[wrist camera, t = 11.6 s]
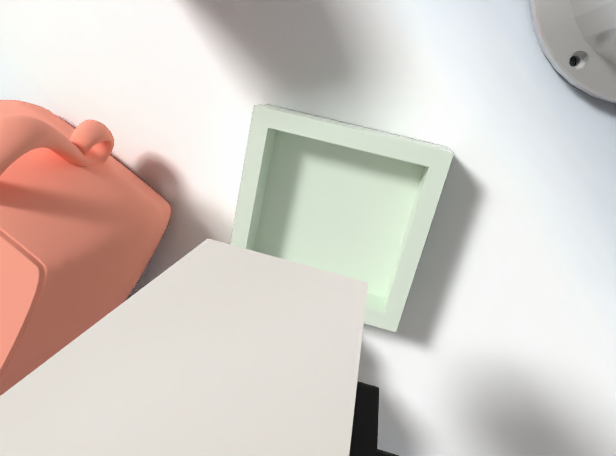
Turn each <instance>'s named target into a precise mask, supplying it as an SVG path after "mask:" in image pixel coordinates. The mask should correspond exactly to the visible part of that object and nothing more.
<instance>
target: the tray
mask: <svg viewBox="0 0 616 456" xmlns="http://www.w3.org/2000/svg"><path fill="white" fill-rule="evenodd" d="M453 155H454V152H452V151H451V150H450V149H449V148H448V147H445V146H441V145H437V144H433V143H428V142H424V141H420V140H416V139H412V138H407V137H403V136H399V135H395V134H391V133H386V132H382V131H378V130H374V129H369V128H365V127H361V126H357V125H353V124H348V123H344V122H340V121H336V120H332V119H327V118H323V117H319V116H315V115H311V114H306V113H302V112H298V111H294V110H290V109H285V108H281V107H277V106H273V105H269V104H268V105H254V107H253V113H252V119H251V125H250V131H249V137H248V142H247V148H246V154H245V160H244V166H243V172H242V178H241V184H240V189H239V195H238V201H237V207H236V213H235V219H234V225H233V230H232V236H231V242H230V245H234V246H238V247H241V248H245V249H249V250H252V251H256V252H259V253H263V254H267V255H270V256H274V257H278V258H281V259H285V260H288V261H292V262H296V263H299V264H303V265H307V266H310V267H314V268H318V269H321V270H325V271H328V272H332V273H336V274H339V275H343V276H347V277H350V278H354V279H357V280H361V281H365V282H368V289H367V298H366V307H365V316H364V324H368V325H371V326H375V327H378V328H382V329H385V330H389V331H392V332H396V331H397V328H398V324H399V321H400V318H401V315H402V312H403V309H404V306H405V303H406V300H407V297H408V294H409V291H410V287H411V284H412V281H413V278H414V275H415V272H416V269H417V266H418V263H419V260H420V257H421V254H422V250H423V247H424V244H425V241H426V238H427V235H428V232H429V229H430V226H431V223H432V220H433V217H434V214H435V210H436V207H437V204H438V201H439V198H440V195H441V192H442V189H443V186H444V183H445V180H446V177H447V173H448V170H449V167H450V164H451V161H452V158H453Z"/></svg>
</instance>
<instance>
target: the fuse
mask: <svg viewBox="0 0 616 456" xmlns="http://www.w3.org/2000/svg"><path fill="white" fill-rule="evenodd" d="M367 289H368V282H365V281H361V280H357V279H354V278H350V277H347V276H343V275H339V274H336V273H332V272H328V271H325V270H321V269H318V268H314V267H310V266H307V265H303V264H299V263H296V262H292V261H288V260H285V259H281V258H278V257H274V256H270V255H267V254H263V253H259V252H256V251H252V250H249V249H245V248H241V247H238V246H234V245H230V244H227V243H223V242H220V241H216V240H212V239H209V238H207V239H206V240H205V241H203V242H202V243H201V244H200V245H198V246H197V247H196V248H194V249H193V250H192V251H190V252H189V253H188V254H186V255H185V256H184V257H182V258H181V259H180V260H178V261H177V262H176V263H175V264H173V265H172V266H171V267H169V268H168V269H167V270H165V271H164V272H163V273H161V274H160V275H159V276H157V277H156V278H155V279H153V280H152V281H151V282H150V283H148V284H147V285H146V286H144V287H143V288H142V289H140V290H139V291H138V292H136V293H135V294H134V295H132V296H131V297H130V298H128V299H127V300H126V301H125V302H123V303H122V304H121V305H119V306H118V307H117V308H115V309H114V310H113V311H111V312H110V313H109V314H107V315H106V316H105V317H104V318H102V319H101V320H100V321H98V322H97V323H96V324H94V325H93V326H92V327H90V328H89V329H88V330H86V331H85V332H84V333H82V334H81V335H80V336H79V337H77V338H76V339H75V340H73V341H72V342H71V343H69V344H68V345H67V346H65V347H64V348H63V349H61V350H60V351H59V352H57V353H56V354H55V355H54V356H52V357H51V358H50V359H48V360H47V361H46V362H44V363H43V364H42V365H40V366H39V367H38V368H36V369H35V370H34V371H32V372H31V373H30V374H29V375H27V376H26V377H25V378H23V379H22V380H21V381H19V382H18V383H17V384H15V385H14V386H13V387H11V388H10V389H9V390H8V391H6V392H5V393H4V394H2V395H1V396H0V456H349V453H350V444H351V435H352V425H353V416H354V407H355V398H356V389H357V380H358V371H359V362H360V353H361V343H362V334H363V325H364V316H365V307H366V298H367Z"/></svg>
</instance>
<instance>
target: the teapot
mask: <svg viewBox="0 0 616 456" xmlns="http://www.w3.org/2000/svg"><path fill="white" fill-rule="evenodd" d="M113 146H114V138H113V136H112V133H111V132H110V131H109V129H108V128H107V127H106V126H105V125H104V124H102V123H100V122H98V121H95V120H86V121H84V122H82V123H81V124H79V125H78V127H77V128H76V129H74V128H73V127H72V126H70V125H69V124H68V123H66V122H65V121H63V120H62V119H60V118H59V117H57V116H56V115H54V114H53V113H52V112H50V111H49V110H47V109H45V108H43V107H40V106H37V105H34V104H30V103H27V102H23V101H17V100H0V396H1V395H2V394H4V393H5V392H6V391H8V390H9V389H10V388H11V387H13V386H14V385H15V384H17V383H18V382H19V381H21V380H22V379H23V378H25V377H26V376H27V375H29V374H30V373H31V372H32V371H34V370H35V369H36V368H38V367H39V366H40V365H42V364H43V363H44V362H46V361H47V360H48V359H50V358H51V357H52V356H54V355H55V354H56V353H57V352H59V351H60V350H61V349H63V348H64V347H65V346H67V345H68V344H69V343H71V342H72V341H73V340H75V339H76V338H77V337H79V336H80V335H81V334H82V333H84V332H85V331H86V330H88V329H89V328H90V327H92V326H93V325H94V324H96V323H97V322H98V321H100V320H101V319H102V318H104V317H105V316H106V315H107V314H109V313H110V312H111V311H113V310H114V309H115V308H117V307H118V306H119V305H121V304H122V303H123V302H125V300H126V299H127V297H128V296H129V294H130V293H131V291H132V290H133V288H134V287H135V285H136V284H137V282H138V280H139V279H140V277H141V275H142V274H143V272H144V270H145V268H146V267H147V265H148V263H149V261H150V259H151V257H152V255H153V254H154V252H155V250H156V248H157V246H158V244H159V242H160V240H161V238H162V236H163V234H164V232H165V230H166V227H167V225H168V222H169V219H170V216H171V206H170V205H169V203H168V202H167V201H166V200H165V199H164V198H163V197H161V196H160V195H159V194H158V193H157V192H156V191H154V190H153V189H152V188H151V187H150V186H149V185H147V184H146V183H145V182H144V181H142V180H141V179H140V178H139V177H137V176H136V175H135V174H134V173H132V172H131V171H130V170H129V169H127V168H126V167H125V166H124V165H122V164H121V163H120V162H118V161H117V160H116V159H115V158H113V157H112V156H111V155H110V154H111V152H112V149H113Z"/></svg>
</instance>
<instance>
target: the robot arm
mask: <svg viewBox="0 0 616 456" xmlns="http://www.w3.org/2000/svg"><path fill="white" fill-rule="evenodd" d="M529 6H530V12H531V17H532V23H533V28H534V32H535V34H536V36H537V39H538V41H539V44H540V46H541V49H542V51H543V53H544V54H545V56H546V57H547V58H548V60H549V61H550V63H551V64H552V66H553V67H554V69H555V70H556V71H557V72H558V73H559V74H561V75H562V76H563V77H564V78H565V79H566V80H567V81H568V82H569V83H570V84H571V85H573V86H575V87H577V88H578V89H580V90H582V91H584V92H585V93H587V94H589V95H591V96H593V97H596V98H599V99H602V100H605V101H609V102H612V103H616V0H530V4H529ZM572 56H574V57H576V59H577V62H576V64H575V66H573V67H572V66H570V64H569V60H570V58H571V57H572ZM378 405H379V388H378V387H375V386H372V385H368V384H365V383H362V382H358V381H357V389H356V398H355V407H354V416H353V425H352V435H351V444H350V453H349V456H398V455H395V454H391V453H388V452H385V451H382V450H379V449H377V436H378Z"/></svg>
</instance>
